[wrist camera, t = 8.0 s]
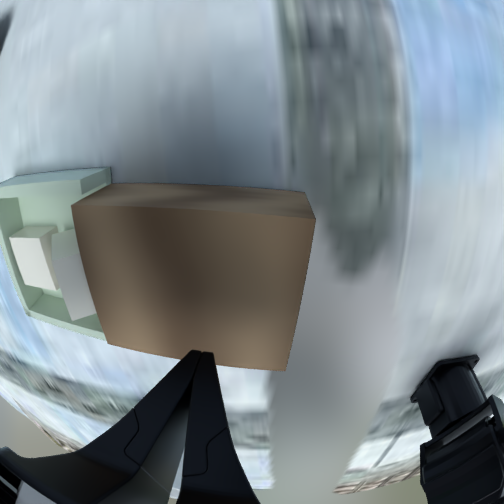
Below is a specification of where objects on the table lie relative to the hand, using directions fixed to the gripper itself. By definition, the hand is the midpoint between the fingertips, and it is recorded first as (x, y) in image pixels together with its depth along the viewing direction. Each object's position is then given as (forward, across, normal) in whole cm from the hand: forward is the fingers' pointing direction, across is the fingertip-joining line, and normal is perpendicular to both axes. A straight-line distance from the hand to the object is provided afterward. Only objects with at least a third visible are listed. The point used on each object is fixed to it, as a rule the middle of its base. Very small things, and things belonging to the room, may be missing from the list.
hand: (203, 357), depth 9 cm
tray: (+7, +12, 0) cm, 14 cm away
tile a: (+5, +9, 0) cm, 10 cm away
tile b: (+5, +14, 0) cm, 15 cm away
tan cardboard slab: (+7, +2, 0) cm, 8 cm away
